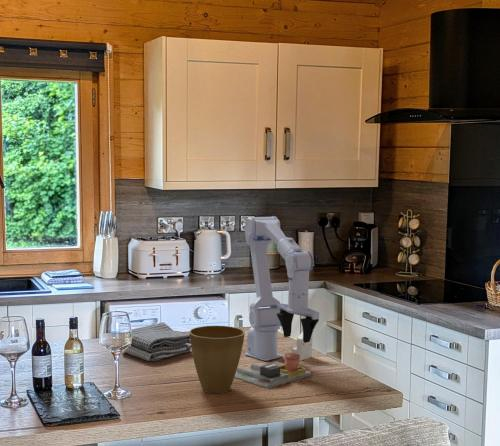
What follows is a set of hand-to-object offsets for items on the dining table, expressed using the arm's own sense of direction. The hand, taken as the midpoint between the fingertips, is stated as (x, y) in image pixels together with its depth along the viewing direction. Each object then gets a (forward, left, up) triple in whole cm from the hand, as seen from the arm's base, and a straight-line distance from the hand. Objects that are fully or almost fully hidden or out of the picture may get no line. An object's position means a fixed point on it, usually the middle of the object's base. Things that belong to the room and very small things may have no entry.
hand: (296, 339), depth 219 cm
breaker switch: (0, -11, -9) cm, 14 cm away
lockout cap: (0, -2, -9) cm, 9 cm away
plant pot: (-5, -27, -11) cm, 29 cm away
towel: (-44, -17, -11) cm, 48 cm away
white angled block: (-10, +14, -11) cm, 21 cm away
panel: (-3, -7, -10) cm, 13 cm away
